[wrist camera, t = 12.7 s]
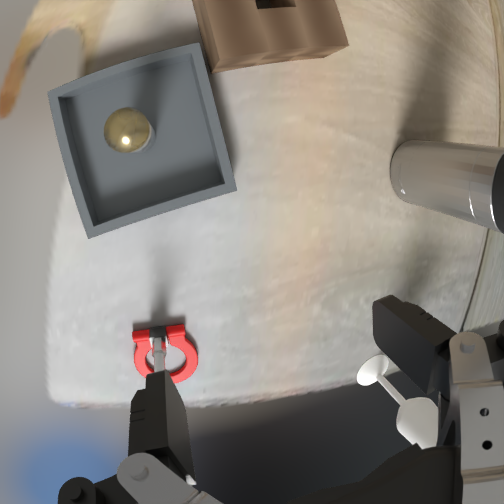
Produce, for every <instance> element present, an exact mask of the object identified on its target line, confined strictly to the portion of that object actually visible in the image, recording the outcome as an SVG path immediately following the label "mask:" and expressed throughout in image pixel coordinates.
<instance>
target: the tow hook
mask: <svg viewBox="0 0 504 504" xmlns="http://www.w3.org/2000/svg"><path fill="white" fill-rule="evenodd" d="M185 335H186V333H185V327H184V324H181V325H174V326H168V327H166V326H162V327H155V328H150V329H147V330H140V331H133V332H132V337H133V341H134V342H136V343H137V347H136V349H135V353H134V363H135V366H136V368H137V370H138V371H139V373H140V374H141V375H142V376H144V377H145V378H146V375H147V374H149V373H153V372H157V371H161V370H165V356H166V346H169V342H168V338H169V341H170V344H171V345H172V346H175V347H178V348H179V349H181V350H182V351H183V352H184V354H185V355H186V362H185V365H184V366H183V367H182V368H181V369H180V370H178V371H176V372H174V373H169V374H170V376H171V378H172V380H173V382H174V383H179V382H181V381H184V380H186V379H187V378H188V377H190V376H191V375H192V374H193V373H194V371H195V370H196V367H197V365H198V355H197V352H196V349H195V347H194V345H193V344H192V343H191V342H190V341H189V340H188V339H187V338H185ZM151 349H152V356H153V357H154V370H153V369H151V368H150V367H149V366H148V364H147V362H146V354H147V353H148V352H149V350H151Z"/></svg>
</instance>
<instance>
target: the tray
mask: <svg viewBox="0 0 504 504" xmlns="http://www.w3.org/2000/svg"><path fill="white" fill-rule="evenodd" d="M48 97H49V103H50V108H51V112H52V117H53V121H54V126H55V130H56V135H57V139H58V142H59V147H60V151H61V154H62V158H63V162H64V165H65V169H66V172H67V176H68V179H69V183H70V186H71V189H72V192H73V196H74V199H75V202H76V205H77V208H78V211H79V214H80V217H81V220H82V223H83V225H84V228H85V231H86V234H87V237H88V239H90V238H92V237H95V236H98V235H101V234H103V233H106V232H109V231H112V230H115V229H118V228H120V227H123V226H126V225H129V224H132V223H135V222H138V221H141V220H144V219H147V218H150V217H153V216H156V215H159V214H162V213H165V212H168V211H171V210H175V209H178V208H181V207H184V206H187V205H190V204H194V203H197V202H200V201H203V200H207V199H210V198H213V197H217V196H220V195H224V194H227V193H230V192H234V191H237V187H236V183H235V180H234V176H233V172H232V168H231V164H230V160H229V156H228V152H227V148H226V144H225V140H224V137H223V133H222V129H221V125H220V121H219V117H218V113H217V109H216V105H215V101H214V98H213V94H212V90H211V86H210V82H209V78H208V74H207V70H206V66H205V62H204V59H203V55H202V51H201V47H200V43H199V42H198V43H194V44H189V45H184V46H180V47H176V48H172V49H168V50H164V51H160V52H156V53H153V54H149V55H146V56H142V57H139V58H135V59H132V60H129V61H126V62H123V63H120V64H117V65H114V66H111V67H108V68H105V69H102V70H100V71H97V72H94V73H91V74H89V75H86V76H84V77H81V78H79V79H76V80H74V81H71V82H69V83H67V84H64V85H62V86H60V87H58V88H55V89H53V90H51V91H49V92H48ZM125 107H132V108H135V109H138V110H139V111H141V112H142V113H143V114H144V115H145V117H146V118H147V120H148V121H149V123H150V124H151V126H152V127H153V129H154V131H155V134H156V139H155V143H154V144H153V146H152V147H151V148H150V149H149V150H147V151H145V152H141V153H122V152H117V151H115V150H113V149H112V148H110V147H109V145H108V144H107V143H106V141H105V138H104V126H105V123H106V121H107V119H108V117H109V116H110V115H111V114H112V113H113V112H115V111H116V110H118V109H120V108H125Z"/></svg>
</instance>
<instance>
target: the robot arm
mask: <svg viewBox="0 0 504 504" xmlns="http://www.w3.org/2000/svg"><path fill="white" fill-rule="evenodd" d="M390 174H391V181H392V185H393V188H394V190H395V192H396V194H397V195H398V196H399V197H400V198H401V199H402V200H403V201H405V202H408V203H411V204H415V205H418V206H421V207H424V208H427V209H431V210H434V211H437V212H441V213H444V214H447V215H450V216H453V217H456V218H460V219H463V220H466V221H469V222H472V223H475V224H478V225H480V226H484V227H487V228H490V229H492V230H495V231H498V232H501V233H504V148H502V147H494V146H485V145H475V144H465V143H453V142H439V141H425V140H409V141H406V142H404V143H402V144H401V145H400V146H399V147H398V149H397V150H396V151H395V154H394V156H393V158H392V162H391V169H390ZM372 309H373V336H374V340H375V342H376V344H377V346H378V347H379V348H380V349H381V350H382V351H383V352H384V353H385V354H386V355H387V356H388V357H389V358H390V359H391V360H392V361H393V362H394V363H395V364H396V365H397V366H398V367H399V368H400V369H401V370H402V371H403V372H404V373H405V374H406V375H407V376H408V377H409V378H410V379H411V380H412V381H413V382H414V383H415V384H416V385H417V386H418V387H419V388H420V389H421V390H422V391H423V392H424V393H425V394H426V395H428V394H429V393H431V392H433V391H434V390H436V389H437V390H438V391H439V397H438V438H437V443H436V446H434V447H429V448H424V449H422V448H421V447H420V446H419V445H418V444H417V442H416V443H415V444H413V445H411V446H410V447H408V448H407V449H405V450H403V451H401V452H399V453H398V454H396V455H394V456H392V457H390V458H388V459H387V460H386V461H385V462H384V463H382V464H381V465H380V466H379V467H378V468H376V469H375V470H374V471H373V472H372V473H370V474H369V475H368V476H367V477H365V478H364V479H363V480H361V481H359V482H355V483H351V484H346V485H341V486H336V487H331V488H326V489H321V490H318V491H316V492H313V493H311V494H308V495H305V496H302V497H299V498H297V499H294V500H291V501H288V502H287V503H288V504H504V320H503V321H502V322H501V323H500V325H499V329H498V333H497V334H494V335H491V336H488V337H484V338H482V337H481V336H480V335H478V334H475V333H472V332H461V333H458V334H457V333H456V332H454V331H453V330H451V329H450V328H449V327H447V326H446V325H445V324H443V323H442V322H440V321H439V320H438V319H436V318H435V317H434V318H433V316H432V315H430V314H429V313H428V312H427V313H426V311H425V310H423V309H422V308H421V307H419V306H418V305H415V304H412V303H409V302H406V301H405V302H402V301H400V300H399V299H398V298H396V297H395V296H393V295H388V296H386V297H383V298H381V299H378V300H376V301H374V302H373V306H372ZM130 412H131V415H130V427H129V450H128V457H127V458H125V459H124V460H123V461H122V462H121V463H120V465H119V467H118V469H117V474H116V475H114V476H112V477H110V478H107V479H105V480H102V481H100V482H97V483H95V484H93V483H92V482H91V481H90V480H88V479H86V478H84V477H76V478H72V479H70V480H68V481H67V482H65V483H64V484H63V486H62V487H61V489H60V491H59V495H58V504H222V503H220V502H219V501H217V500H216V499H214V498H213V497H211V496H210V495H208V494H207V493H205V492H203V491H200V492H199V491H197V490H196V489H194V488H193V487H192V486H190V485H195V484H196V478H195V472H194V466H193V459H192V452H191V445H190V438H189V431H188V423H187V416H186V410H185V406H184V403H183V401H182V398H181V396H180V394H179V392H178V390H177V388H176V386H175V384H174V382H173V380H172V378H171V376H170V374H169V372H168V371H167V370H166V369H165V370H161V371H157V372H153V373H149V374H147V375H146V389H142V390H137V392H136V394H135V396H134V397H133V399H132V401H131V411H130Z"/></svg>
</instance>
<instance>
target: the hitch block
mask: <svg viewBox="0 0 504 504" xmlns="http://www.w3.org/2000/svg"><path fill="white" fill-rule="evenodd" d="M192 2H193V6H194V10H195V14H196V18H197V22H198V25H199V29H200V33H201V37H202V41H203V45H204V49H205V52H206V56H207V60H208V64H209V68H210V72H211V74H213V73H218V72H223V71H228V70H233V69H238V68H244V67H250V66H256V65H263V64H269V63H277V62H285V61H293V60H303V59H313V58H324V57H326V56H328V55H330V54H332V53H334V52H337V51H339V50H341V49H343V48H345V47H347V46H349V44H348V40H347V37H346V33H345V30H344V27H343V24H342V21H341V17H340V14H339V11H338V8H337V5H336V2H335V0H270V3H271V6H272V8H268V9H257V6H256V2H255V0H192Z"/></svg>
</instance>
